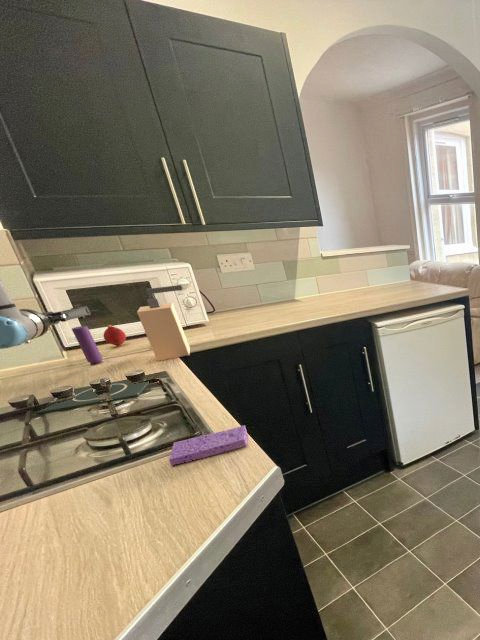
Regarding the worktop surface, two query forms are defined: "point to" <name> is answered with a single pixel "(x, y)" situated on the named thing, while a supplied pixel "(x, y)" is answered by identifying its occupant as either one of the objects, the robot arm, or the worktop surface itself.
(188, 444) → the sponge
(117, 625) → the worktop surface
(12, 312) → the robot arm
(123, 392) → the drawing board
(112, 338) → the red rounded lump
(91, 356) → the cylinder
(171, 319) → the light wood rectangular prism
